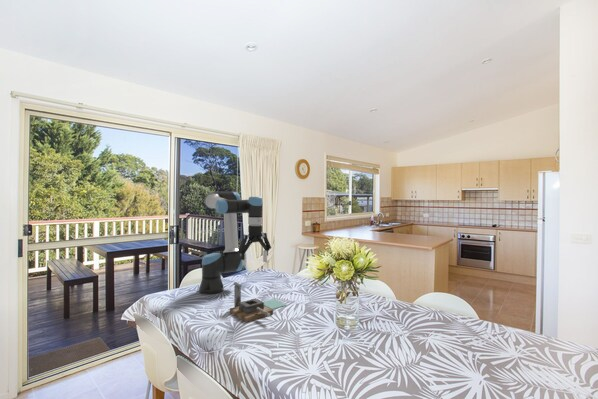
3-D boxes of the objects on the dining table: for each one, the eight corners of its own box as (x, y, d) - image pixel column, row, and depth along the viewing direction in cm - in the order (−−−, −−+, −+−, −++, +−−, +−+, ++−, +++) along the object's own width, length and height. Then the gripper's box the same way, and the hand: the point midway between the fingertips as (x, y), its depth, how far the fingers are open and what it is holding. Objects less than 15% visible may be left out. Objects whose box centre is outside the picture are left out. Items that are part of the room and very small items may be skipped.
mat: (259, 303, 168) (259, 302, 168) (274, 299, 174) (274, 298, 174) (272, 309, 159) (272, 308, 159) (286, 305, 165) (286, 304, 165)
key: (232, 307, 162) (232, 283, 162) (237, 305, 164) (237, 281, 164) (237, 310, 157) (237, 285, 157) (243, 308, 160) (243, 284, 160)
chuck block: (230, 312, 155) (230, 301, 155) (256, 305, 165) (256, 295, 165) (254, 327, 136) (254, 316, 136) (282, 318, 147) (282, 307, 147)
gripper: (238, 227, 150) (238, 268, 151) (277, 224, 167) (277, 261, 167) (231, 225, 156) (231, 266, 156) (269, 223, 172) (269, 259, 173)
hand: (254, 263), depth 162 cm, fingers open, 13 cm apart
